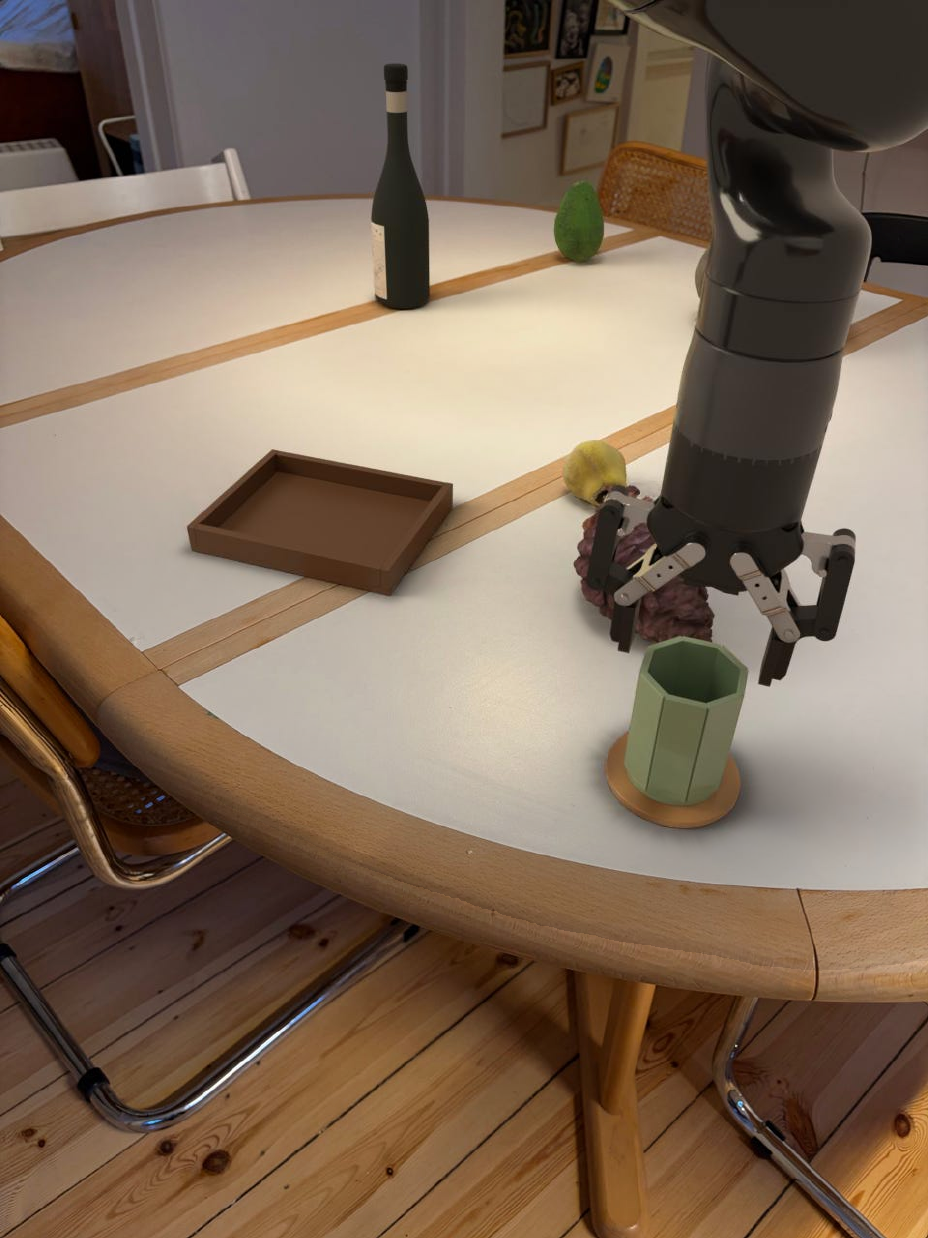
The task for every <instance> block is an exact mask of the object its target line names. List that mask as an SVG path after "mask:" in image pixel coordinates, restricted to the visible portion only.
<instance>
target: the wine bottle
mask: <svg viewBox="0 0 928 1238" xmlns="http://www.w3.org/2000/svg"><path fill="white" fill-rule="evenodd" d="M408 69H409V68H408V66H407V64H404V63H386V64H384V66H383V80H384V83H385V84H384V85H385V102H386V105H385V106H386V126H387V127H386V129H387V142H386V143H387V145H386V153H385V157H384V162H383V165H382V169H381V173H380V176H379V178H378V182H377V185H376V187H375V190H374V191H375V192H374V195H373V200H372V205H371V216H370V217H371V218H370V224H371V243H372V244H371V245H372V246H371V247H372V263H373V264H372V266H373V285H374V297H375V300H376V301H377V302H378V303H379V304H381V305H382V306H384V307H387V308H391V309H397V310H406V309H407V310H409V309H414V308H417V307H420V306H422V305H424V304H425V303H426V302H427V301H428V300H429V298H430V296H431V295H430V294H431V292H430V288H431V286H430V284H431V282H430V278H431V277H430V219H429V211H428V206H427V201H426V197H425V195H424V191H423V189H422V186H421V183H420V180H419V177H418V175H417V171H416V169H415V166H414V163H413V161H412V157H411V152H410V148H409V146H410V145H409V137H408V80H409V74H408V73H409V71H408Z"/></svg>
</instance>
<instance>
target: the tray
mask: <svg viewBox="0 0 928 1238" xmlns="http://www.w3.org/2000/svg"><path fill="white" fill-rule="evenodd" d="M453 507H454V483H452V482H447V481H446V482H445V481H440V480H435V479H430V478H425V477H419V476H414V475H410V474H409V475H408V474H403V473H398V472H393V471H387V470H382V469H377V468H372V467H368V466H362V465H356V464H351V463H346V462H341V461H336V460H330V459H326V458H320V457H315V456H309V455H305V454H299V453H293V452H288V451H283V450H278V449H274V448H272V449H270V450H269V451H268V452H267V453H266V454H265V455H264V456H263V457H262V458H260V460H259V461H257V462H256V463H255V464H254V465H252V467H251V468H249V470H248V471H246V472H245V473H243V475H242V476H241V477H240V478H239V479H237V480H236V481H235V482H234V483H232V485H230V486H229V488H227V489H226V490H225V491H224V492H223V493H222V494H221V495H219V496H218V497H217V498H216V499H215V500H214V501H212V503H211V504H210V505H208V506H207V507H206V508H205V509H204V510H202V512H201V513H199V514H198V516H196V517H195V518H194V519H193V520H192V521H190V523H189V524H188V525H186V530H187V536H188V540H189V545H190V550H191V551H193V552H197V553H202V554H206V555H210V556H214V557H219V558H224V559H228V560H232V561H237V562H241V563H246V564H249V565H255V566H258V567H263V568H268V569H272V570H277V571H281V572H285V573H289V574H294V575H298V576H303V577H307V578H311V579H316V580H319V581H325V582H327V583H332V584H337V585H341V586H347V587H351V588H355V589H360V590H364V591H368V592H371V593H377V594H381V595H384V596H385V595H386V596H391V595H392V593H393V592H394V590H395V589H396V588H397V586H398V585H399V583H400V582H401V581H402V579H403V578H404V576H405V575H406V573H407V572H408V571H409V569H410V568H411V567H412V565H413V564H414V562H415V561H416V559H417V558H418V557H419V555H420V554H421V552H422V551H423V549H424V548H425V546H426V545H427V544H428V542H429V541H430V539H431V538H432V537H433V535H434V534H435V532H436V531H437V529H438V528H439V527H440V526H441V524H442V522H443V521H444V520H445V518H446V517H447V516H448V515H449V513H450V511H451V510H452V509H453Z"/></svg>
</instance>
